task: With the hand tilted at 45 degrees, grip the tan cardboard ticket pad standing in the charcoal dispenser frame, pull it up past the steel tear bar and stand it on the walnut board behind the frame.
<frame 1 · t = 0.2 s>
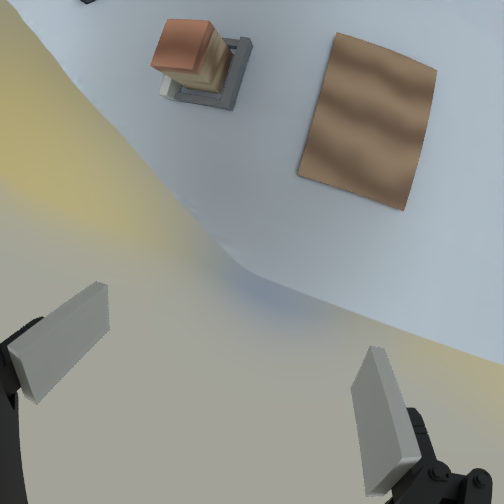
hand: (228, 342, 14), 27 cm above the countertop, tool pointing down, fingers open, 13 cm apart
walnut board: (370, 118, 34), on the countertop
dispenser frame: (210, 71, 36), on the countertop
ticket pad: (210, 71, 36), resting in dispenser frame
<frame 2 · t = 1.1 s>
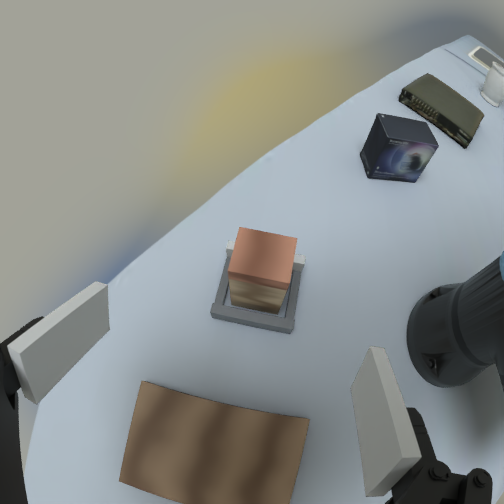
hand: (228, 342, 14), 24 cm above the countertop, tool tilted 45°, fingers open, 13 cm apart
walnut board: (212, 455, 30), on the countertop
jar: (489, 100, 74), on the countertop
network switch: (441, 113, 64), on the countertop
dispenser frame: (258, 291, 40), on the countertop
small box: (387, 169, 52), on the countertop
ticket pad: (258, 292, 40), resting in dispenser frame
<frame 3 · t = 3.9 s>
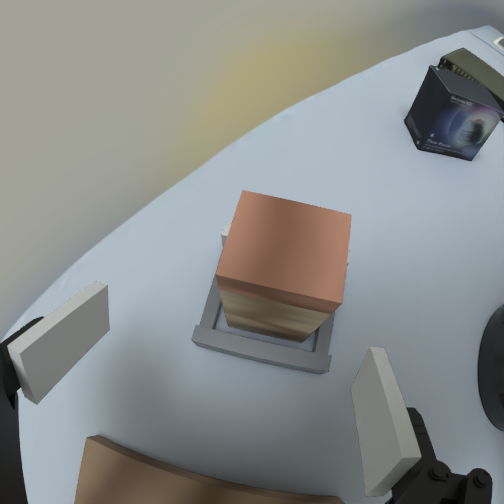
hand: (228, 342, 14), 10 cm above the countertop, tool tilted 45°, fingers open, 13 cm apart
network switch: (481, 91, 47), on the countertop
dispenser frame: (271, 305, 25), on the countertop
small box: (438, 142, 36), on the countertop
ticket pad: (271, 306, 25), resting in dispenser frame
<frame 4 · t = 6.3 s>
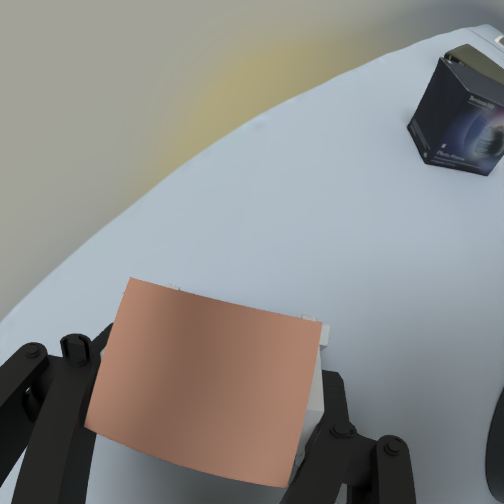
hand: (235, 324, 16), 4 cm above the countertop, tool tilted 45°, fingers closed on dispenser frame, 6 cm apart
network switch: (489, 91, 41), on the countertop
small box: (449, 153, 29), on the countertop
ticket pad: (223, 391, 17), resting in dispenser frame
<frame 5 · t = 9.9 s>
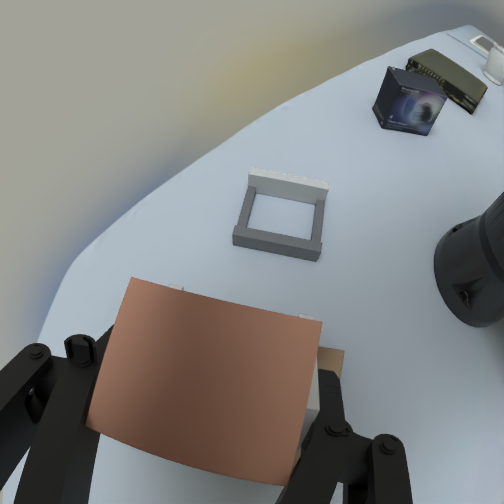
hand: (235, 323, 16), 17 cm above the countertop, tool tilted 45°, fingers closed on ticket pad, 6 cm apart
walnut board: (232, 400, 28), on the countertop
jar: (491, 79, 71), on the countertop
network switch: (446, 84, 62), on the countertop
dispenser frame: (281, 220, 38), on the countertop
small box: (400, 123, 50), on the countertop
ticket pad: (224, 391, 18), point 13 cm above the countertop, touching gripper
when the fingers open (7 cm above the countertop, at t = 12.6 s): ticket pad stays where it is, resting on walnut board.
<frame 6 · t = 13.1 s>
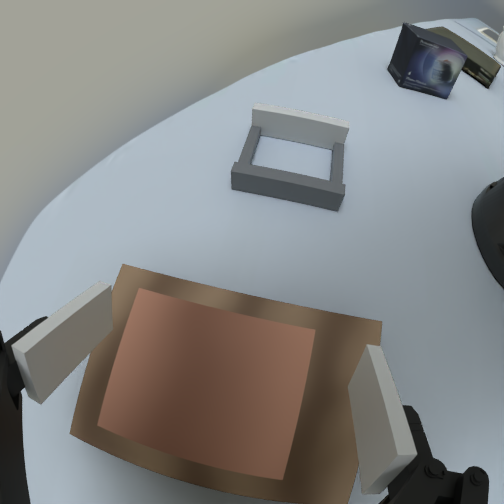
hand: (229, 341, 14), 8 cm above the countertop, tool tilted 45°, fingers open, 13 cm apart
walnut board: (226, 392, 20), on the countertop
jar: (502, 63, 63), on the countertop
network switch: (459, 60, 54), on the countertop
dispenser frame: (292, 163, 30), on the countertop
small box: (417, 85, 41), on the countertop
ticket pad: (224, 392, 18), point 2 cm above the countertop, touching walnut board
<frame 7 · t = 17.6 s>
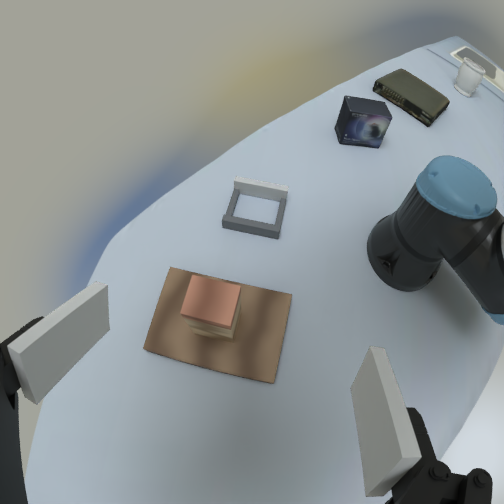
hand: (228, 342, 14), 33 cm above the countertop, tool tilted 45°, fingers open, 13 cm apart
walnut board: (218, 325, 47), on the countertop
jar: (462, 91, 90), on the countertop
network switch: (410, 100, 80), on the countertop
dispenser frame: (255, 212, 57), on the countertop
small box: (356, 139, 68), on the countertop
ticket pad: (217, 322, 45), point 2 cm above the countertop, touching walnut board
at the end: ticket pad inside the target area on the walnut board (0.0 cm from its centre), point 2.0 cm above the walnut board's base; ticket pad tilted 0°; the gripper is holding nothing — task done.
